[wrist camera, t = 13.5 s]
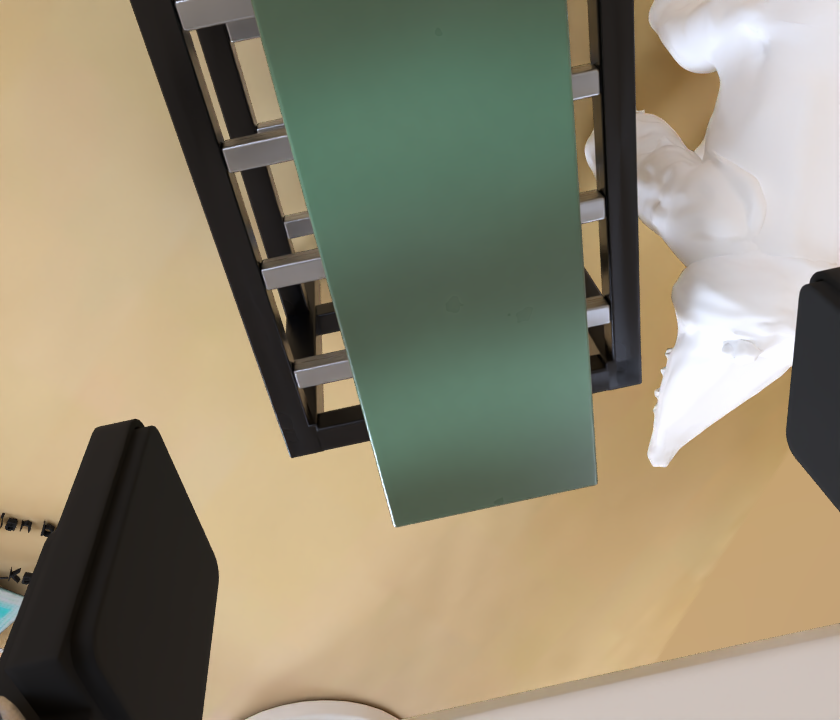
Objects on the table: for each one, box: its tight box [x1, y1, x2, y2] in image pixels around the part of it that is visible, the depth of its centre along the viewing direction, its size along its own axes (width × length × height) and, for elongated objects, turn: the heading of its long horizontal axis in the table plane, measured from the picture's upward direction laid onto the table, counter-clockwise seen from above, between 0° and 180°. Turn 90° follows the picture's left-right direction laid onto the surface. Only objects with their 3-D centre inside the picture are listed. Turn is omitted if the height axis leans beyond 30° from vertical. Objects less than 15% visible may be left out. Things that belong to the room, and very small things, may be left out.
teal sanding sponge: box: [251, 0, 598, 527], centre depth 16 cm, size 11×4×5 cm, turn 10°
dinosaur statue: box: [585, 0, 840, 467], centre depth 23 cm, size 7×24×11 cm, turn 167°
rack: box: [130, 0, 642, 458], centre depth 22 cm, size 14×10×10 cm
